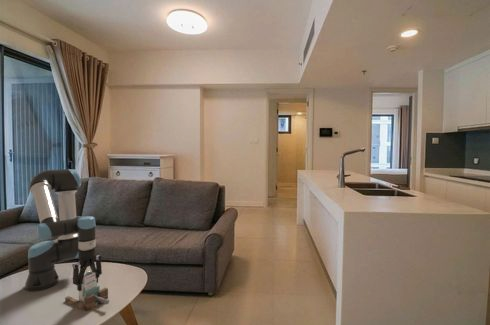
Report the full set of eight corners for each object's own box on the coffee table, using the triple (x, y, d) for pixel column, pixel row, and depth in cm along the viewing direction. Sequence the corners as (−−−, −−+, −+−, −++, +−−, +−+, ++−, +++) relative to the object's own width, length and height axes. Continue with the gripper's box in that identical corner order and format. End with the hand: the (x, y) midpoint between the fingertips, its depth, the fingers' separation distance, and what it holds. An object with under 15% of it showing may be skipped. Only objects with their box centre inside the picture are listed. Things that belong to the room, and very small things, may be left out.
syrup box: (96, 299, 138) (96, 272, 137) (85, 305, 132) (84, 277, 132) (89, 297, 140) (89, 269, 139) (78, 302, 135) (77, 274, 134)
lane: (65, 301, 136) (64, 289, 136) (86, 291, 146) (86, 280, 146) (86, 311, 128) (86, 299, 128) (108, 299, 138) (107, 288, 137)
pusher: (84, 305, 132) (84, 291, 132) (98, 298, 138) (98, 285, 138) (101, 313, 126) (100, 298, 126) (114, 305, 132) (114, 291, 132)
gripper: (71, 256, 125) (73, 304, 126) (109, 243, 142) (110, 286, 143) (62, 253, 128) (63, 300, 129) (100, 241, 145) (101, 282, 146)
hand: (88, 292), depth 136 cm, fingers open, 6 cm apart
